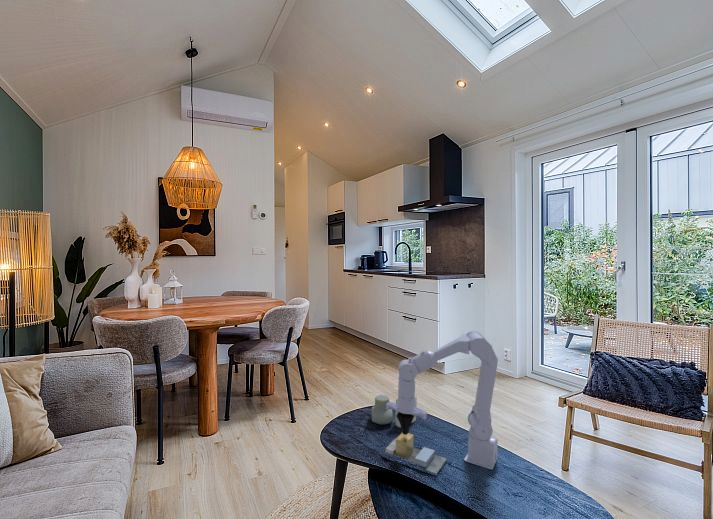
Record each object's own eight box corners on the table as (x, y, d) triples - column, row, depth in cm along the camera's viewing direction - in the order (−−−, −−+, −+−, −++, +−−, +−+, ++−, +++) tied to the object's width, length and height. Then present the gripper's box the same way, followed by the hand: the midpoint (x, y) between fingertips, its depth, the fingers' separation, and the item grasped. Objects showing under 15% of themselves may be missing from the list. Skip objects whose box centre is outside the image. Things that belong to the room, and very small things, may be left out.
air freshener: (371, 414, 169) (371, 392, 168) (390, 415, 169) (391, 392, 168) (372, 427, 158) (372, 403, 157) (392, 428, 158) (393, 403, 157)
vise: (446, 461, 136) (446, 452, 136) (436, 476, 127) (436, 467, 127) (394, 444, 146) (394, 436, 146) (381, 457, 138) (381, 449, 137)
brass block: (413, 450, 140) (413, 434, 140) (406, 459, 135) (406, 442, 134) (402, 447, 142) (403, 431, 142) (395, 455, 137) (395, 439, 137)
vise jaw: (434, 455, 137) (434, 450, 137) (426, 467, 130) (426, 461, 130) (423, 452, 139) (423, 446, 139) (414, 463, 132) (414, 458, 132)
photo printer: (409, 417, 167) (410, 388, 166) (417, 420, 164) (418, 391, 163) (393, 425, 160) (394, 395, 159) (401, 429, 157) (402, 399, 156)
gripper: (430, 395, 136) (429, 433, 138) (392, 387, 144) (391, 423, 145) (423, 403, 130) (422, 443, 132) (383, 393, 138) (383, 431, 139)
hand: (405, 433), depth 138 cm, fingers closed
